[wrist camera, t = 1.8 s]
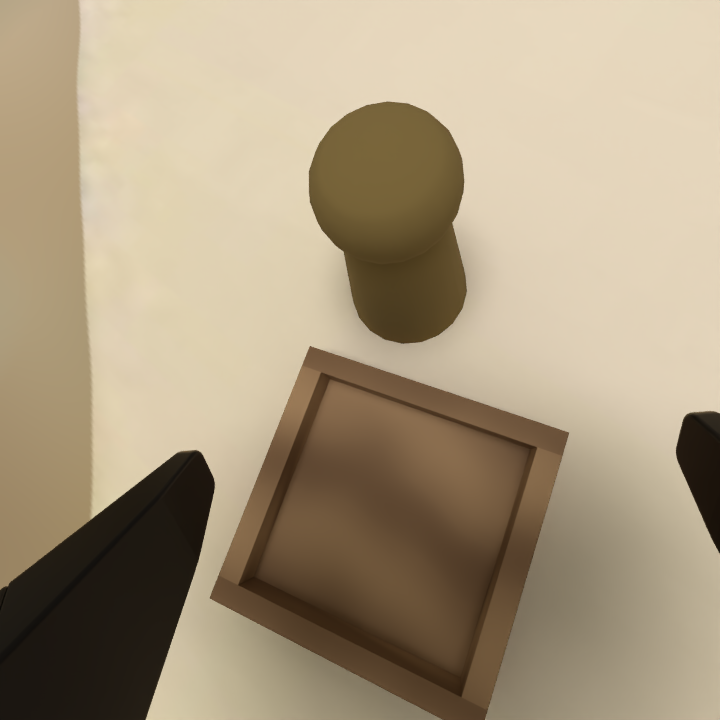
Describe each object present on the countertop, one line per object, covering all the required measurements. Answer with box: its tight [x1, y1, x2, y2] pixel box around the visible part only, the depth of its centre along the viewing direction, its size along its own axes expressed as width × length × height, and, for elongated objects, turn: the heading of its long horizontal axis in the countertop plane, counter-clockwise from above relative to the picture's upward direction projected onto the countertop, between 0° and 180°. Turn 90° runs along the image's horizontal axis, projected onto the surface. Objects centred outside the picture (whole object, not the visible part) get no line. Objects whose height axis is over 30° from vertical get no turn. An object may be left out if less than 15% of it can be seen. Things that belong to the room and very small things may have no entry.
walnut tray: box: [210, 346, 569, 720], centre depth 21 cm, size 12×12×2 cm
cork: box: [309, 102, 467, 343], centre depth 19 cm, size 6×6×11 cm
